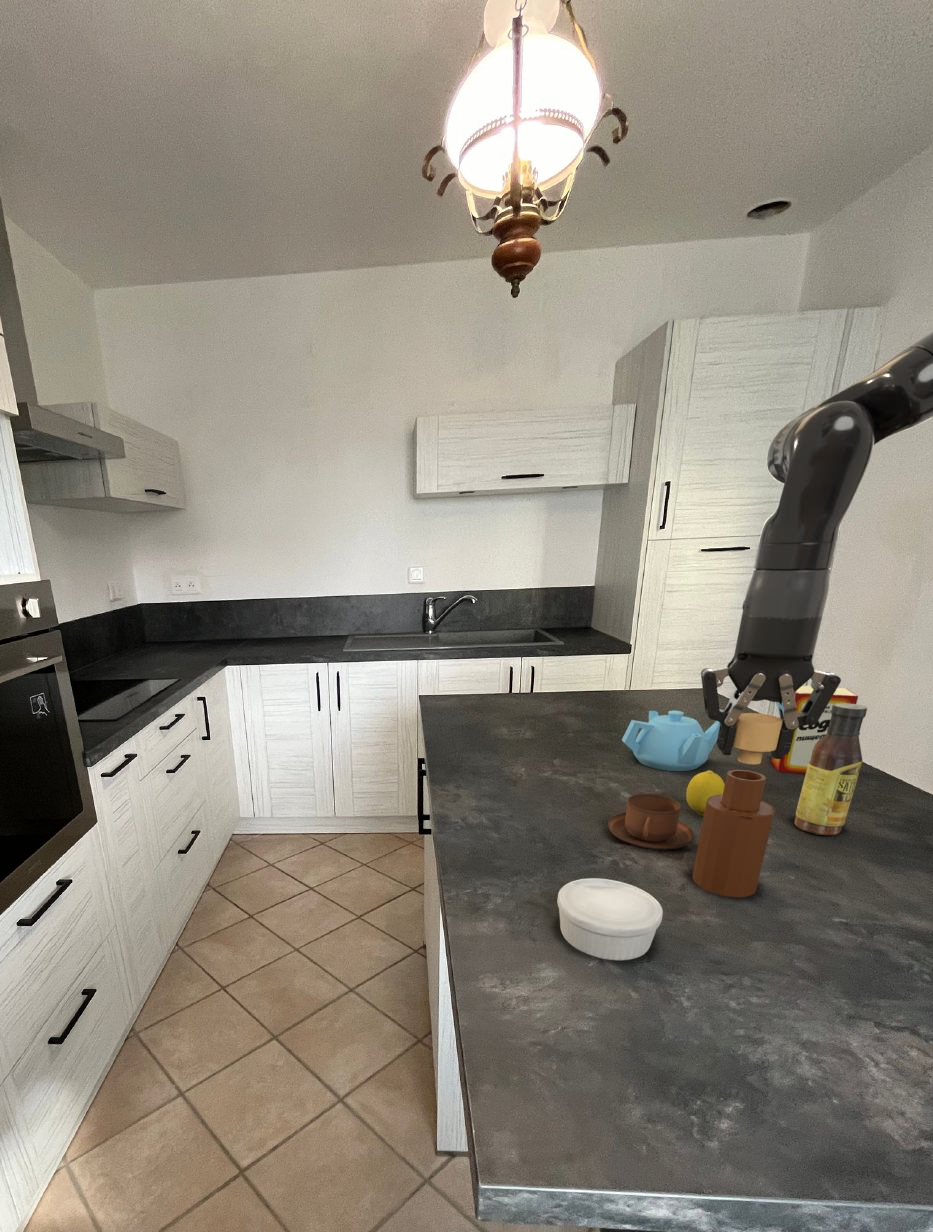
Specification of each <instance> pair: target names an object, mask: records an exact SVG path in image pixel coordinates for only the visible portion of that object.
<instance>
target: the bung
mask: <svg viewBox="0 0 933 1232" xmlns="http://www.w3.org/2000/svg"><path fill="white" fill-rule="evenodd" d="M782 722H783V720H782V719H781V718H780V716H779V717H778V716H775V715H771V714H765V713H756V712H742V713H741V715H740V717H739V718H738V720H737V721H736V723H735V724H734V725H735V726H736V731H735V736H734V741H733V746H732V748H736V749H739V752H738V757H737V761H738V762H739V763H742V764H745V765H753V766H754V765H760V764H762V759H763V756H764V753H767V752H768V753H769V752H771V751H774V750H776V748H777V743H778V739H779V735H780V730H781V726H782Z"/></svg>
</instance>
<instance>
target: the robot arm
mask: <svg viewBox="0 0 933 1232" xmlns="http://www.w3.org/2000/svg"><path fill="white" fill-rule="evenodd" d="M932 418H933V331H932V332H931V333H929V334H927V335H925V337H922V338H920V340H918V341H917V342H915V343H913V344H911V345H910V346H908V347H907V348H906V349H904V350H902V351H901V352H900V353H898V354H897V355H895V356H893V358H891V359H890V360H888V361H887V362H886V363H884V364H882V366H880V367H879V368H877V369H876V370H875V371H873V372H871V373H869V375H866V376H865V377H864V378H862V379H860V380H858V381H857V382H854V383H853V384H851V385H849V386H847V387H845V388H844V389H841V390H840V391H838V392H837V393H835V394H833V395H832V396H830V397H828V398H826V399H824V400H822V401H821V402H819V403H817V404H815V405H814V406H812V407H811V408H809V409H807V410H806V411H804V412H802V413H801V414H799V415H797V416H796V417H795V418H793V419H791V420H790V421H788V423H786V424H785V425H784V426H783V427H782V428H781V429H780V430H778V432H777V433H776V434H775V436H774V437H773V440H772V441H771V443H770V445H769V447H768V450H767V454H766V468H767V471H768V473H769V475H770V476H771V477H772V478H773V479H774V480H775V481H776V482H778V483H780V484H782V485H783V488H782V491H781V494H780V498H779V502H778V504H777V508H776V509H775V511H774V512H773V513H772V514H771V515H770V516H769V517H768V518H767V519H766V520H765V522H764V524H763V526H762V528H761V532H760V536H759V540H758V546H757V551H756V555H755V561H754V565H753V570H752V573H751V577H750V580H749V583H748V586H747V589H746V593H745V597H744V601H742V607H741V608H742V612H741V613H742V614H741V618H740V623H739V628H738V634H737V639H736V644H735V649H734V654H733V657H732V658H731V660H730V661H729V662H728V663H727V666H724V667H719V668H712V669H711V668H710V667H705V668H703V669H702V670H701V672H700V677H701V687H702V697H703V703H704V711H705V714H706V716H707V717H708V718H709V719H710V720H711V721H718V722H720V727H719V733H718V738H717V741H716V747H717V748H718V750H719V751H720V752H721V753H722V755H723V756H731V754H732V750H733V741H734V736H735V731H736V726H735V725H734V724H735V723H736V721H737V720H738V718H739V717H740V715H741V714H742V713H744V711H745V710H746V709H747V708H748V707H749V706H750V703H751V702H760V701H769V702H772V703H776V706H777V710H778V715H779V718H781V719H782V720H783V722H782V726H781V730H780V735H779V739H778V743H777V748H776V750H774V751H770V755H771V757H772V756H773V758H774V759H782V758H783V755H787V754H788V753H789V752H790V749H791V745H792V741H793V736H794V732H795V730H796V729H797V728H798V727H800V726H804V725H810V726H811V725H815V724H816V723H817V722H818V720H819V718H820V717H821V715H822V713H823V712H824V710H825V708H826V706H827V705H828V703H829V701H830V700H831V698H832V696H833V694H834V693H835V691H836V689H837V688H839V685H840V684H841V683H842V679H841V677H840V676H838V675H837V674H836V673H833V672H831V671H825V672H824V671H821V670H817V669H815V667H814V664H813V657H814V653H815V649H816V644H817V641H818V636H819V633H820V628H821V627H820V626H821V623H822V619H823V615H824V611H825V607H826V603H827V598H828V595H829V589H830V588H829V587H830V577H831V568H832V566H833V561H834V558H835V553H836V550H837V544H838V540H839V535H840V528H841V526H842V523H843V521H844V519H845V516H846V514H847V512H848V510H849V509H850V507H851V505H852V503H853V500H854V498H855V496H856V495H857V492H858V490H859V487H860V485H861V483H862V481H863V478H864V476H865V473H866V471H867V468H868V466H869V463H870V460H871V457H872V453H873V450H874V446H875V445H877V444H878V443H880V442H882V441H884V440H885V439H887V438H889V437H892V436H894V435H896V434H899V433H901V432H904V431H907V430H910V429H912V428H914V427H916V426H918V425H921V424H923V423H925V422H927V421H928V420H930V419H932ZM727 677H729V679H730V680H731V682H732V683H733V685H734V687H735V689H734V691H733V692H732V694H731V695H730V697H729V699H728V703H727V705H726V706H725V708H724V709H721V708H720V701H719V692H718V688H720V687H721V686H722V685H723V684H724V680H725V678H727ZM810 680H811V683H810V686H811V687H812V688H813V689H814V690H813V691H812V693H811V695H810V697H809V698H808V700H807V702H806V704H805V705H804V707H803V709H802V711H801V713H796V709H797V707H796V701H795V696H794V692H796V691H797V690H798V689H799V688H800V687H801V686H805V684H806V683H807V682H808V681H810Z"/></svg>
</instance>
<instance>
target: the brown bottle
mask: <svg viewBox="0 0 933 1232" xmlns="http://www.w3.org/2000/svg"><path fill="white" fill-rule="evenodd" d="M766 781H767V777H766V776H765V775H764V774H762V773H760V772H757V771H754V770H753V771H752V770H748V769H733V770H731V769H730V770H728V771H727V773H726V776H725V782H724V784H725V786H724V791H723V795H715V796H711V797H709V799H708V800H707V803H706V808H705V813H704V815H703V818H702V824H701V829H700V835H699V840H698V845H697V850H696V855H695V860H694V865H693V871H692V880H693V882H694V884H696V885H697V886H698V887H700V888H701V889H704V890H705V891H708V892H709V893H712V894H715V895H718V896H723V897H730V898H731V897H732V898H746V897H750V896H752V895H755V893H756V892H757V889H758V885H759V879H760V874H761V871H762V867H763V862H764V858H765V854H766V850H767V846H768V841H769V837H770V834H771V829H772V824H773V820H774V817H775V812H776V810H775V808H774V807H773V805H771V804H770V803H767V802H766V801H764V800H762V798H763V795H764V790H765V787H766Z"/></svg>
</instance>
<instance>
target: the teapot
mask: <svg viewBox="0 0 933 1232" xmlns="http://www.w3.org/2000/svg"><path fill="white" fill-rule="evenodd" d="M684 715H685V712H683V711H680V710H669V711H668V714H663V715H659V711H656V710H649V711H648V722H647V721H641V720H640V721H639V720H635V719H631V721H630V723H629V725H628V727H627V729H626V731H625V733H624V735H623V737H622V739H621V741H622V742H623V743H624V744H625V745H626V746H627V747H628V748H629V749H630V750H631V751H632V753H633V755H634V757H635V758H636V759H637V760H638V762H639V763H641V764H642V765H643V766H646V767H649V768H652V769H657V770H661V771H668V772H669V771H671V772H688V771H693V770H697V769H698V768H699V767H701V766H702V765H703V764H705V763H706V762H707V760H708V759H709V754H710V753H711V751H712V750H713V748H714V746H715V744H717V738H718V733H719V727H720V722H718V721H716V720H714V723H713V724H712V725H711V726H709V727H708V729H706V730H705V731H704V730H703V727H702V726H701V724H700V723H699V721H698V720H697V719H694V718H692V717H689V716H684ZM640 729H641V730H640ZM639 730H640V732H639Z"/></svg>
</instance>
